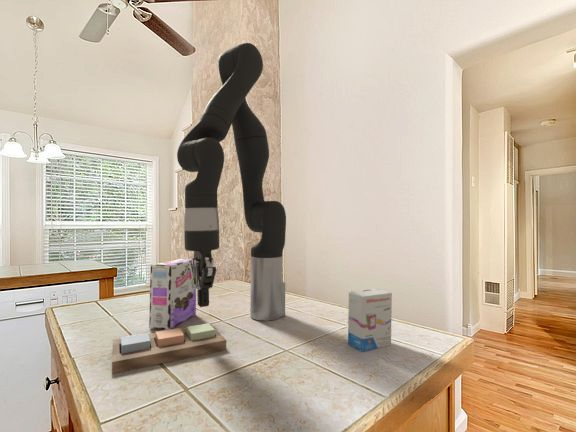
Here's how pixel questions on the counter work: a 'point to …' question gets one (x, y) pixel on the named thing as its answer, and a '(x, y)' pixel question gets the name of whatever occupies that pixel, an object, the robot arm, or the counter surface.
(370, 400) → the counter surface
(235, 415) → the counter surface
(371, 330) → the ink box
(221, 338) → the button board
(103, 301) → the counter surface
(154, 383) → the counter surface
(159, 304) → the candy box
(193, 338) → the sage tile
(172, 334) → the terracotta tile
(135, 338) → the squat grey square block
